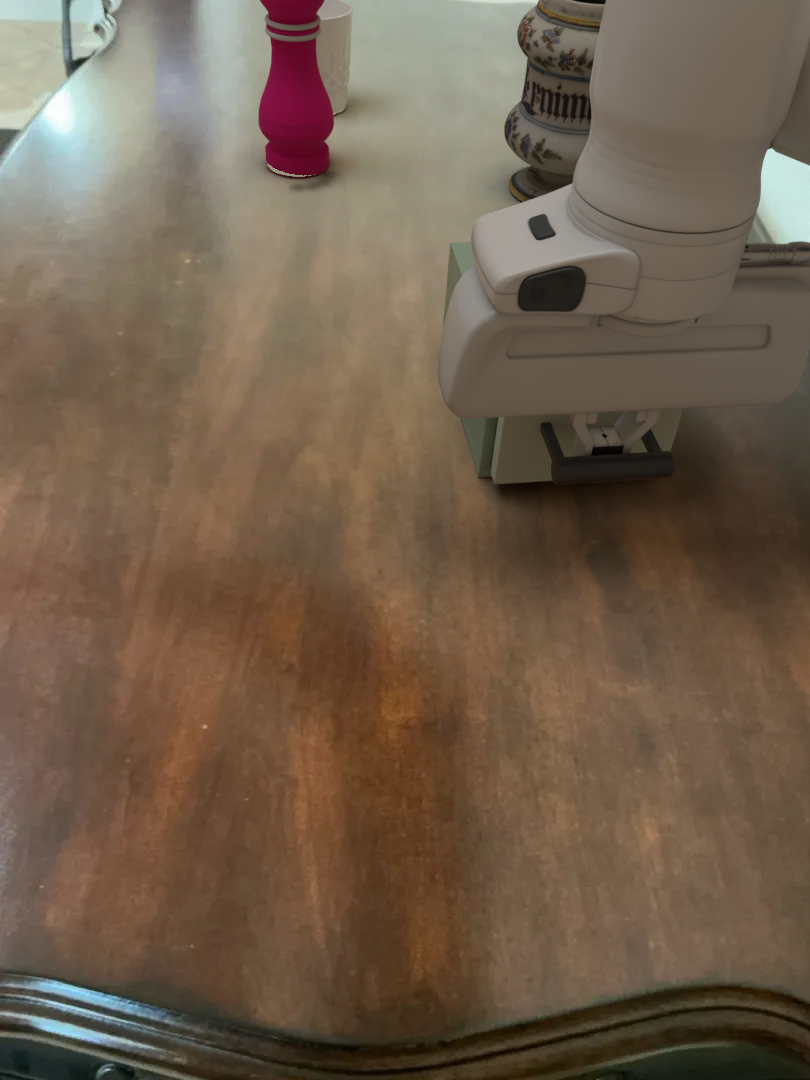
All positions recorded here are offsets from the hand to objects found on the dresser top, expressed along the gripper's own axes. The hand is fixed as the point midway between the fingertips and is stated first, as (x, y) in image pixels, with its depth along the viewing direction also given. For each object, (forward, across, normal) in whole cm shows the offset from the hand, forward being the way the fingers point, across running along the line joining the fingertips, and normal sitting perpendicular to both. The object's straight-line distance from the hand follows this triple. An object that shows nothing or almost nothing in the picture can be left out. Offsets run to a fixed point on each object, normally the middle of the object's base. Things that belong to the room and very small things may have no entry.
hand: (598, 458), depth 58 cm
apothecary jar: (+5, -10, -46) cm, 47 cm away
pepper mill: (+5, +15, -52) cm, 55 cm away
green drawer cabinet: (+5, 0, -12) cm, 13 cm away
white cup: (+5, +12, -68) cm, 69 cm away
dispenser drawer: (+4, 0, -7) cm, 8 cm away
